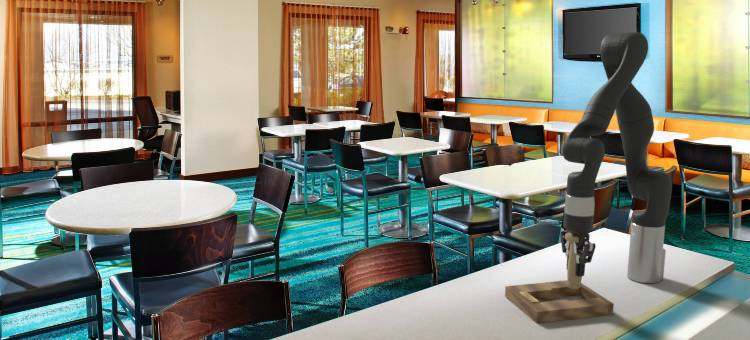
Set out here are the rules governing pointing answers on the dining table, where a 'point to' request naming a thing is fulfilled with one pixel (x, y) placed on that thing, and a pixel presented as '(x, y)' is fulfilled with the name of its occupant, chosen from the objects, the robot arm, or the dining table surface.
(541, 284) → the square wooden frame
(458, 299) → the dining table surface
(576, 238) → the handle
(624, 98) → the robot arm
